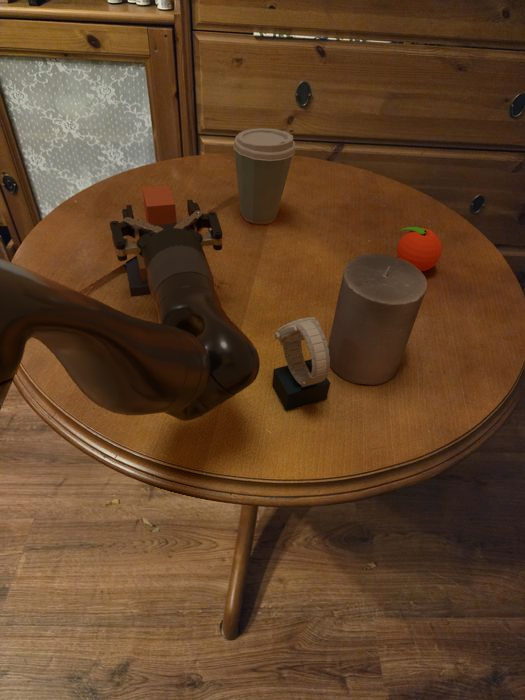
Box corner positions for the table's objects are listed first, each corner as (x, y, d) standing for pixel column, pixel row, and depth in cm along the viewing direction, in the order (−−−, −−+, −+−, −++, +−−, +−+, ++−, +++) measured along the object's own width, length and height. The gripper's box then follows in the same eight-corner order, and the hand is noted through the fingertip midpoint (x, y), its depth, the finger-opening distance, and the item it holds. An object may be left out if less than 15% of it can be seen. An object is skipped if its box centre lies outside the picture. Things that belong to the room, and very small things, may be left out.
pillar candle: (357, 326, 71) (380, 235, 61) (413, 364, 66) (448, 272, 56) (310, 355, 67) (326, 262, 56) (366, 399, 62) (395, 305, 51)
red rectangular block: (179, 262, 78) (175, 204, 71) (153, 265, 77) (146, 206, 70) (173, 242, 82) (168, 184, 75) (149, 244, 81) (142, 187, 74)
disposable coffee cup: (219, 212, 92) (219, 130, 82) (263, 196, 98) (268, 117, 87) (256, 237, 87) (261, 152, 76) (300, 218, 92) (310, 137, 82)
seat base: (210, 285, 76) (210, 264, 73) (131, 296, 73) (127, 274, 71) (191, 231, 87) (190, 211, 84) (121, 238, 84) (118, 217, 81)
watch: (304, 364, 65) (315, 299, 58) (333, 410, 60) (349, 344, 52) (265, 375, 64) (271, 309, 56) (291, 422, 58) (301, 357, 51)
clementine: (379, 266, 82) (389, 229, 77) (397, 249, 87) (407, 212, 82) (424, 285, 79) (438, 247, 74) (440, 266, 83) (454, 229, 78)
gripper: (236, 240, 59) (208, 179, 70) (113, 254, 55) (103, 187, 66) (235, 290, 64) (209, 226, 75) (122, 306, 61) (112, 236, 72)
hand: (159, 208), depth 71 cm, fingers open, 8 cm apart
